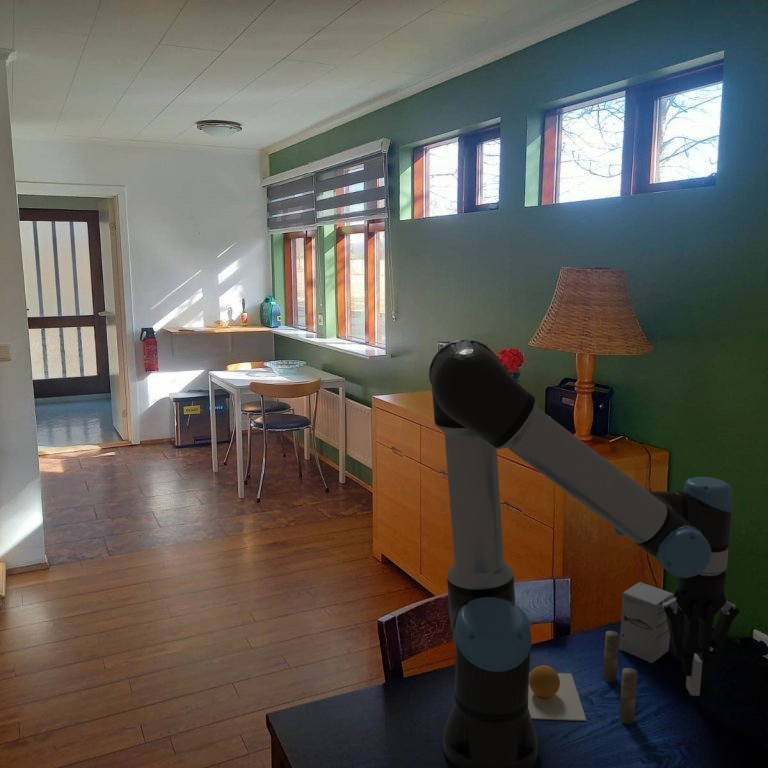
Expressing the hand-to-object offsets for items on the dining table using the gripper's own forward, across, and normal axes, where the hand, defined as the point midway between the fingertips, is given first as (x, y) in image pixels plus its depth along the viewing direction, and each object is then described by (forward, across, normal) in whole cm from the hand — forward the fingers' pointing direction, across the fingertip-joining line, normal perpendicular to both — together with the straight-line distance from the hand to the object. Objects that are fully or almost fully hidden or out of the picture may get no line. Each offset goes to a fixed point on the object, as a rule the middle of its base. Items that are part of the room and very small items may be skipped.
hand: (692, 690), depth 132 cm
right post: (+2, +13, +6) cm, 15 cm away
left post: (+2, +13, -6) cm, 15 cm away
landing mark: (+2, +27, 0) cm, 27 cm away
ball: (-1, +26, 0) cm, 26 cm away
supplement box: (+2, +4, -16) cm, 17 cm away
